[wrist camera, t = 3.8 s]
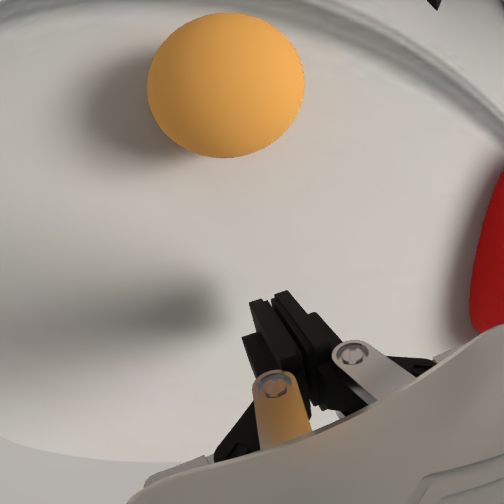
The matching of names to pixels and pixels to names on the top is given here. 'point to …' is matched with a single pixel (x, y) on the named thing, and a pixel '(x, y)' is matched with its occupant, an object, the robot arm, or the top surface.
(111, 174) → the top surface
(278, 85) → the ball
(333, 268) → the top surface
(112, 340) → the top surface
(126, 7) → the top surface
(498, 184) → the toy clock
